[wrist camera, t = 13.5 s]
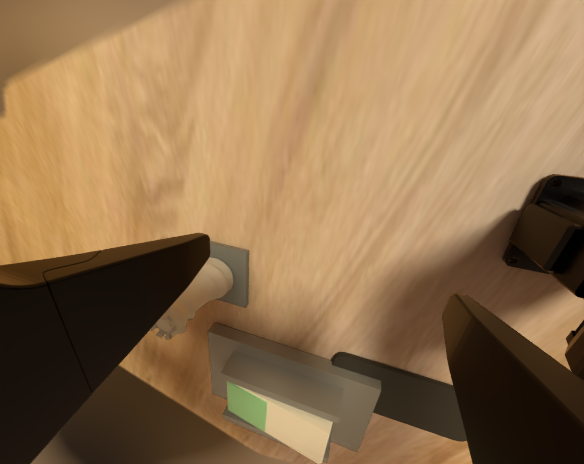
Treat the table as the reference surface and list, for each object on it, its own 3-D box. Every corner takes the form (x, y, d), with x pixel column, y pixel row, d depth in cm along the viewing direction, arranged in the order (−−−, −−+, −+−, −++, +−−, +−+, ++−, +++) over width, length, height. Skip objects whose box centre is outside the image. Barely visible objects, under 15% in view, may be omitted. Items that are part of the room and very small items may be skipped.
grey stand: (380, 376, 26) (382, 421, 22) (357, 438, 31) (355, 484, 27) (214, 322, 31) (191, 351, 27) (218, 383, 36) (199, 416, 32)
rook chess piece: (240, 291, 26) (192, 351, 19) (206, 290, 28) (150, 346, 21) (229, 254, 25) (171, 305, 18) (193, 255, 26) (128, 302, 19)
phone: (466, 445, 26) (324, 396, 29) (463, 436, 26) (326, 389, 30) (496, 402, 23) (334, 353, 26) (493, 393, 23) (335, 346, 27)
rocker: (333, 418, 25) (329, 436, 23) (325, 450, 27) (320, 467, 26) (235, 367, 29) (225, 379, 27) (235, 398, 31) (227, 411, 30)
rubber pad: (248, 250, 25) (246, 253, 24) (248, 304, 28) (245, 307, 27) (189, 236, 26) (185, 238, 26) (194, 288, 29) (191, 291, 29)
